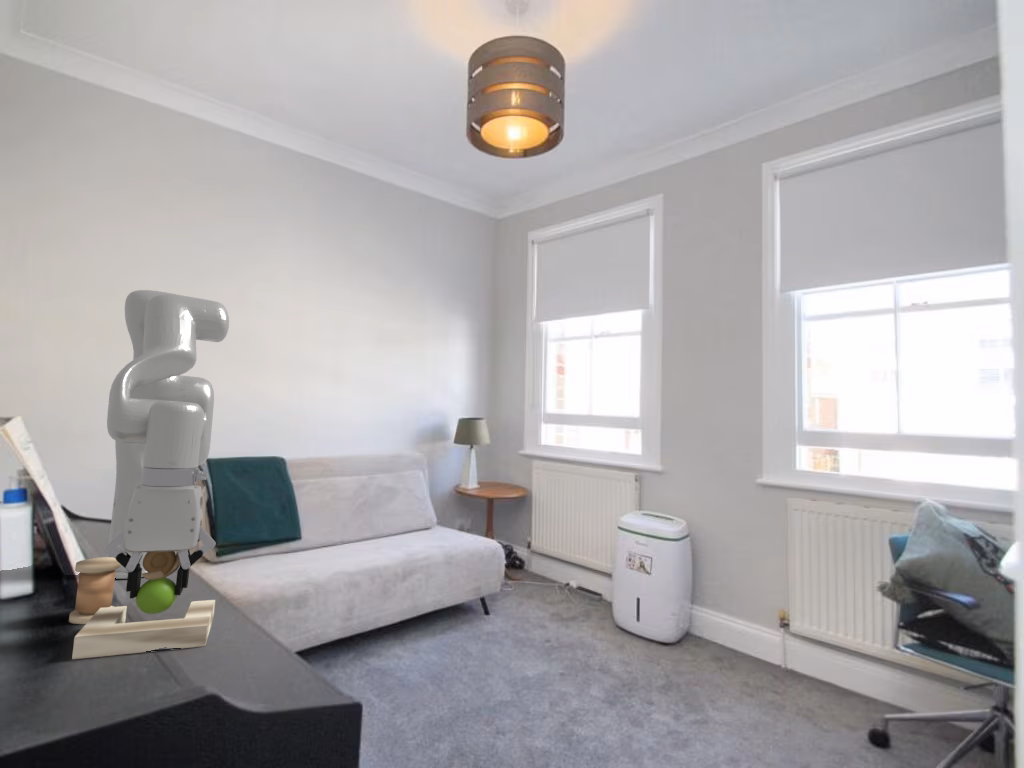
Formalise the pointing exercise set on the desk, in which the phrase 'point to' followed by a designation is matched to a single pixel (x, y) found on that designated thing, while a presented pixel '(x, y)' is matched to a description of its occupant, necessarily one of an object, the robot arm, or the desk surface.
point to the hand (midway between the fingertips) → (157, 593)
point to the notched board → (142, 632)
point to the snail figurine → (158, 582)
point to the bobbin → (93, 587)
